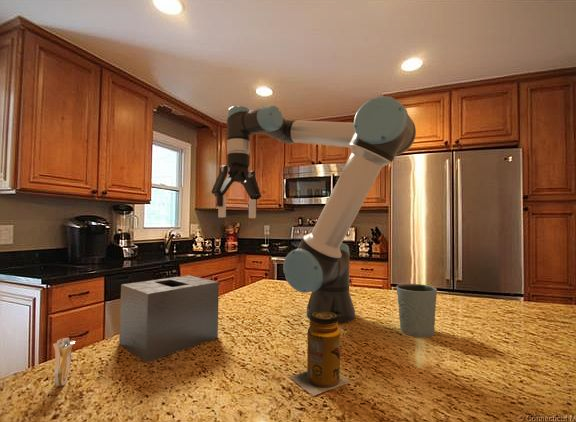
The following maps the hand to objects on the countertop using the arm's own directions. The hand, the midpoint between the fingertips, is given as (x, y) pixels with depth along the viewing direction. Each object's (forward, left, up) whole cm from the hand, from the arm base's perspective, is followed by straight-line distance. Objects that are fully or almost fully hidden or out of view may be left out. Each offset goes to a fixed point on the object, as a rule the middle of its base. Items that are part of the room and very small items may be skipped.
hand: (237, 217), depth 100 cm
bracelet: (-12, +49, -31) cm, 59 cm away
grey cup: (-50, -21, -31) cm, 63 cm away
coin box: (-7, +27, -31) cm, 41 cm away
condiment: (-45, +18, -31) cm, 57 cm away
